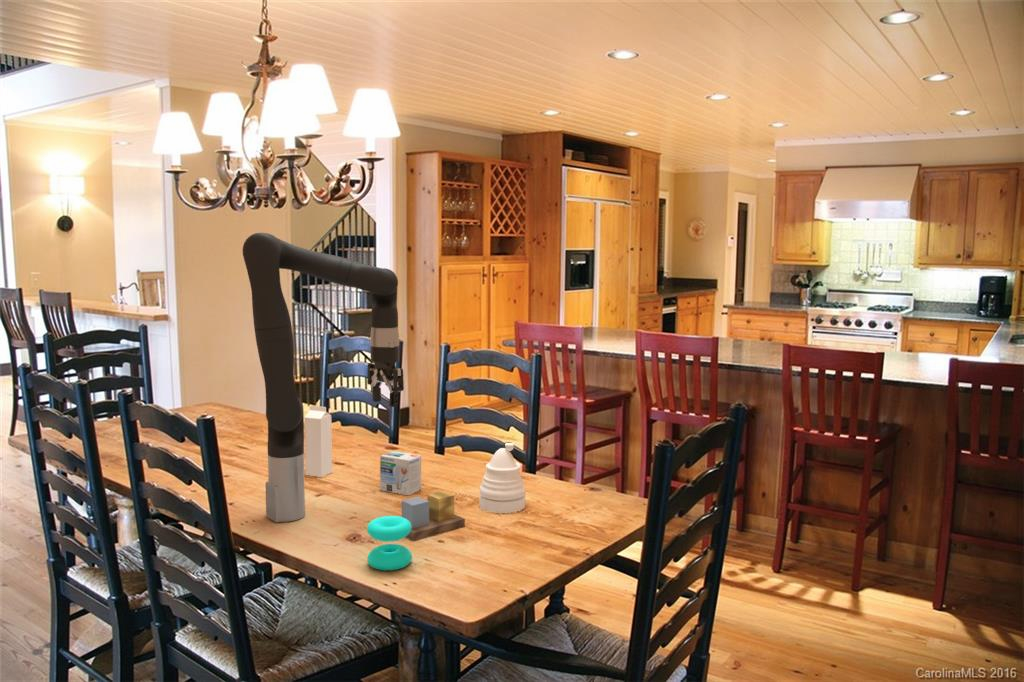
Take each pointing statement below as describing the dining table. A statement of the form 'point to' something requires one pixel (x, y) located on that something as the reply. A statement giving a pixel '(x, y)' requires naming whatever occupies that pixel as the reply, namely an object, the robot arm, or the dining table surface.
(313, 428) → the milk
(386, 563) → the donuts
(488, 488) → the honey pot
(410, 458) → the light bulb box
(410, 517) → the pale grey cube
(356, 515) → the dining table surface
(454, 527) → the brown wooden stand
